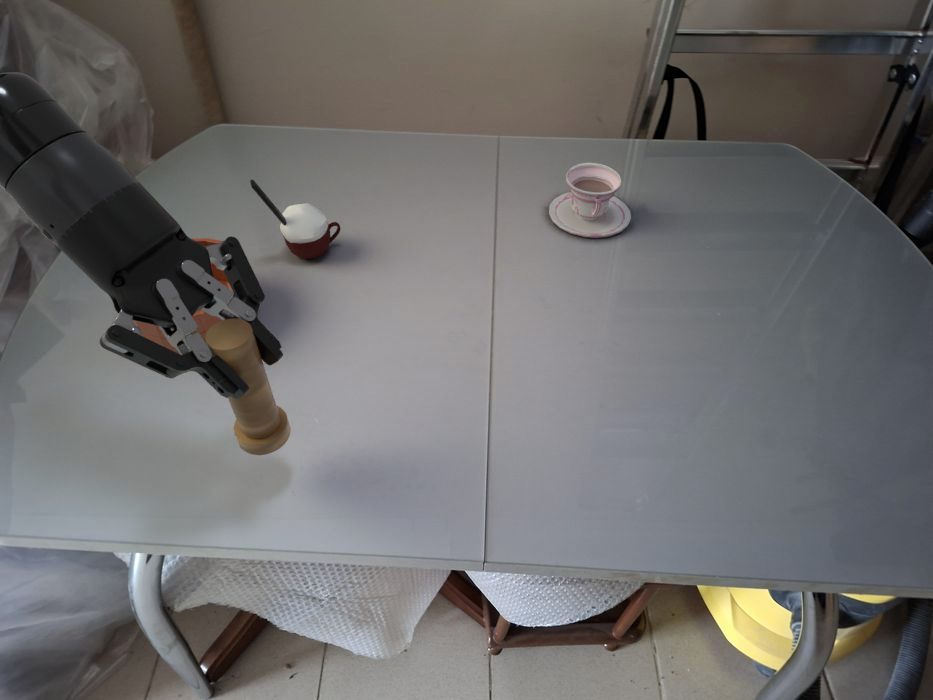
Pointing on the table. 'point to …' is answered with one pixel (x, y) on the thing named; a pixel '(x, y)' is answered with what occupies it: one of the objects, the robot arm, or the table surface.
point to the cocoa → (302, 227)
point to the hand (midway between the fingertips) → (259, 376)
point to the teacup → (591, 202)
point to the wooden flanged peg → (256, 410)
